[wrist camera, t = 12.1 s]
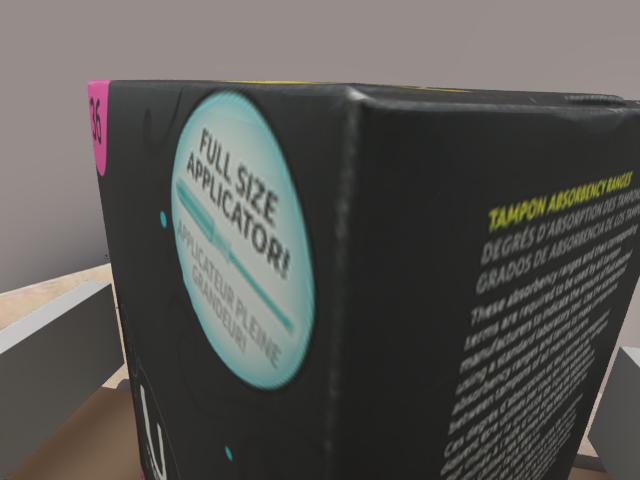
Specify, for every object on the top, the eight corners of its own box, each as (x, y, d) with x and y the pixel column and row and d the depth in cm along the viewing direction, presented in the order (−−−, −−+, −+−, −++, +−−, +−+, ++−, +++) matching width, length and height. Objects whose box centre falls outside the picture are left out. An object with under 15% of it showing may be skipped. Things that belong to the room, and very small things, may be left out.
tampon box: (138, 483, 15) (67, 74, 10) (325, 387, 20) (340, 90, 15) (297, 946, 7) (346, 24, 2) (538, 585, 12) (716, 94, 7)
